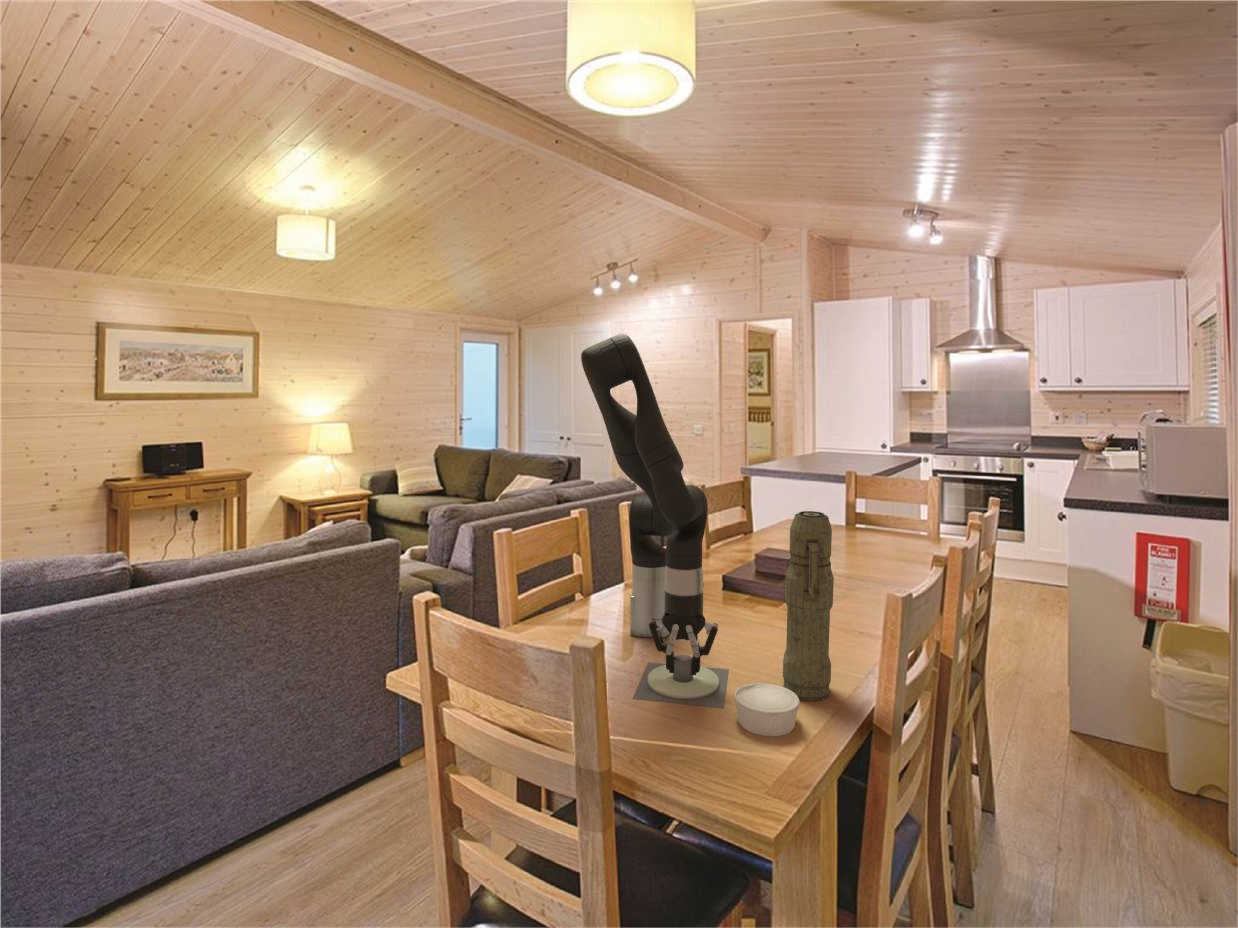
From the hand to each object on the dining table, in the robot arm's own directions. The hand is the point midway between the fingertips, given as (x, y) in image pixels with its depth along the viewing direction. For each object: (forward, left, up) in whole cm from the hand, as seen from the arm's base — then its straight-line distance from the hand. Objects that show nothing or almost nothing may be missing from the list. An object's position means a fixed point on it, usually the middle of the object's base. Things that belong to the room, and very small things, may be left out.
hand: (683, 672), depth 128 cm
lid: (0, 0, -2) cm, 2 cm away
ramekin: (+16, -12, -3) cm, 20 cm away
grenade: (+24, +3, -3) cm, 24 cm away
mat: (0, 0, -3) cm, 3 cm away
